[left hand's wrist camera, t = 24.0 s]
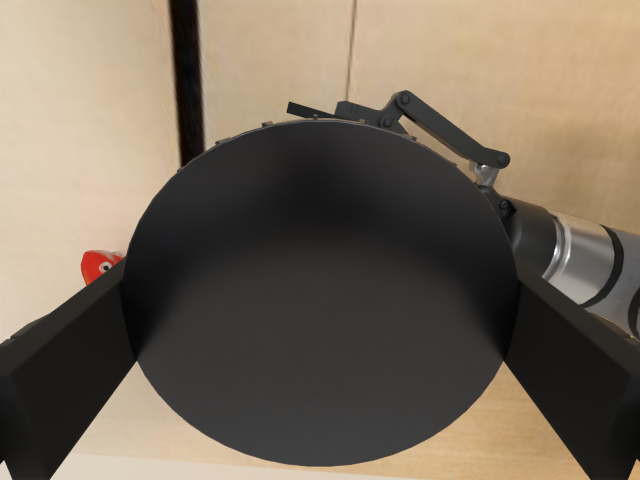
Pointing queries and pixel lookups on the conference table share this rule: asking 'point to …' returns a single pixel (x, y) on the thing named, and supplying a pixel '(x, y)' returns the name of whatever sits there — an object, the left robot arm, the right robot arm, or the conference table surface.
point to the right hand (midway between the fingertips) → (272, 179)
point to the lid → (320, 292)
